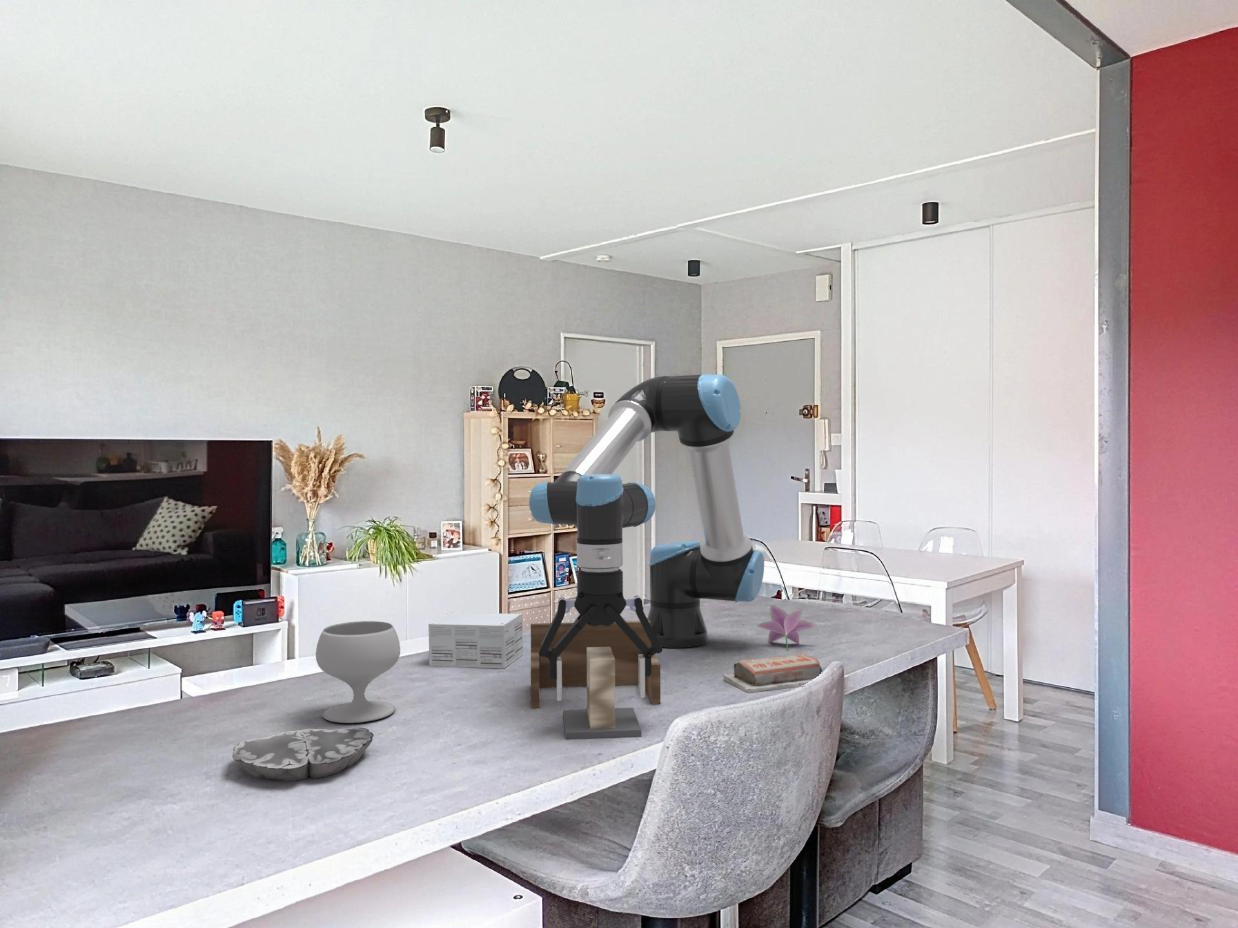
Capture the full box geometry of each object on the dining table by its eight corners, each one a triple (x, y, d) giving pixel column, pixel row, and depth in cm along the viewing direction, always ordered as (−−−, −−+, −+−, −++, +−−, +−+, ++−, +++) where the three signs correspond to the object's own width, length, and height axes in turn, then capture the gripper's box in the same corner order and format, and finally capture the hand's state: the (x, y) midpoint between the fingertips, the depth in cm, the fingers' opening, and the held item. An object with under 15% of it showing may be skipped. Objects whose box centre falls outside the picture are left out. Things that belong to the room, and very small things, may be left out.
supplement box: (524, 655, 196) (523, 612, 196) (505, 670, 184) (504, 624, 183) (451, 652, 200) (451, 610, 199) (428, 666, 187) (427, 622, 187)
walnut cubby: (531, 685, 171) (530, 623, 171) (649, 681, 173) (649, 620, 173) (530, 708, 156) (530, 640, 156) (660, 703, 159) (660, 636, 158)
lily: (824, 652, 201) (818, 611, 206) (801, 640, 192) (796, 598, 197) (776, 662, 207) (771, 623, 211) (752, 651, 198) (747, 610, 203)
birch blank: (590, 728, 142) (589, 660, 142) (587, 711, 151) (586, 647, 151) (615, 727, 142) (614, 659, 142) (610, 710, 151) (610, 646, 151)
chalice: (324, 731, 144) (322, 639, 144) (310, 709, 157) (309, 624, 156) (409, 719, 151) (408, 631, 150) (390, 698, 163) (389, 616, 163)
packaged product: (800, 649, 181) (829, 660, 172) (800, 673, 181) (829, 685, 172) (722, 657, 174) (748, 670, 165) (722, 682, 174) (747, 695, 165)
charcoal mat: (563, 715, 152) (563, 709, 152) (632, 713, 153) (632, 707, 153) (565, 738, 140) (565, 732, 140) (641, 736, 141) (641, 729, 141)
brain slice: (232, 799, 118) (232, 776, 118) (232, 757, 133) (232, 738, 133) (384, 776, 126) (383, 755, 125) (367, 739, 141) (367, 721, 141)
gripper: (523, 573, 141) (524, 706, 142) (678, 570, 143) (679, 700, 144) (523, 566, 148) (524, 692, 149) (671, 563, 151) (672, 688, 151)
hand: (600, 697), depth 146 cm, fingers open, 13 cm apart
